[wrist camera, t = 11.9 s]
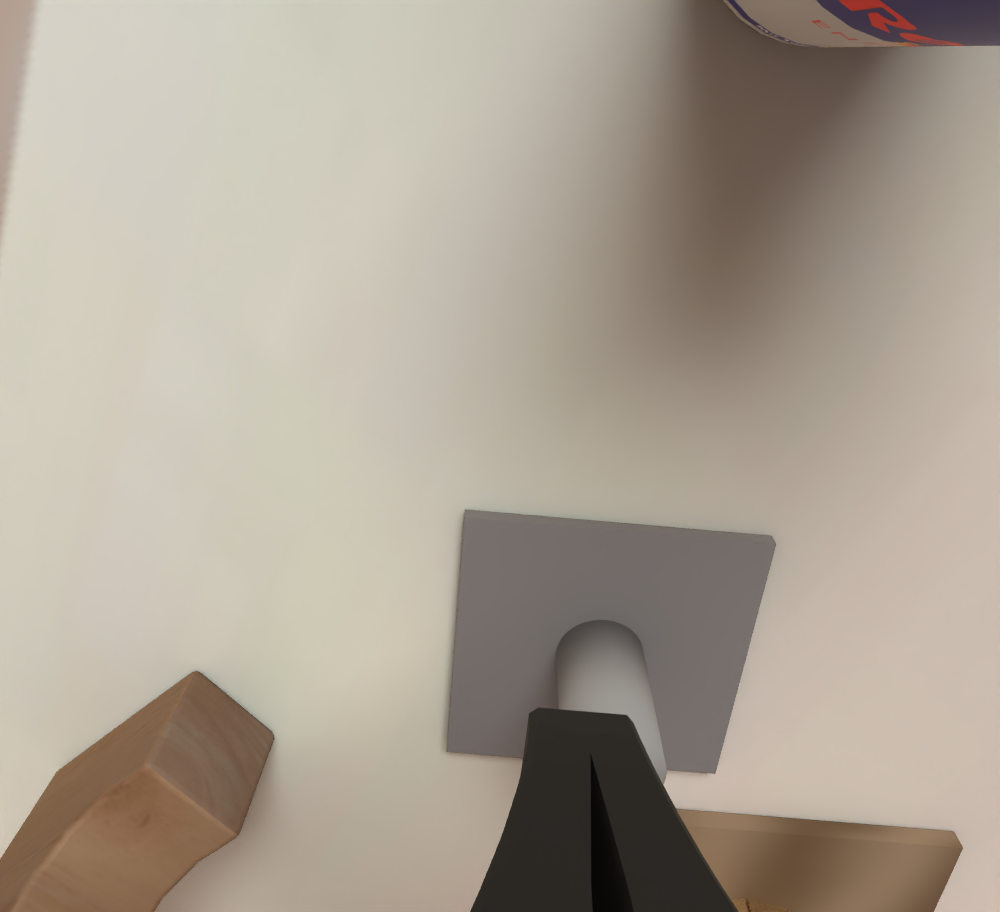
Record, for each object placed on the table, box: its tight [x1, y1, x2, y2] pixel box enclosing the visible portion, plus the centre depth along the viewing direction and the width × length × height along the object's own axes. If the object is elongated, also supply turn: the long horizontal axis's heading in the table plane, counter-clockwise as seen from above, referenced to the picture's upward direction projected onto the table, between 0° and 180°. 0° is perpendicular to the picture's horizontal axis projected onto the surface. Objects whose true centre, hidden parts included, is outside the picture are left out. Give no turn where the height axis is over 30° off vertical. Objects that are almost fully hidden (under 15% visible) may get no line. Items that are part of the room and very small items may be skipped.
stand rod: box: [447, 510, 776, 784], centre depth 22 cm, size 8×8×5 cm
